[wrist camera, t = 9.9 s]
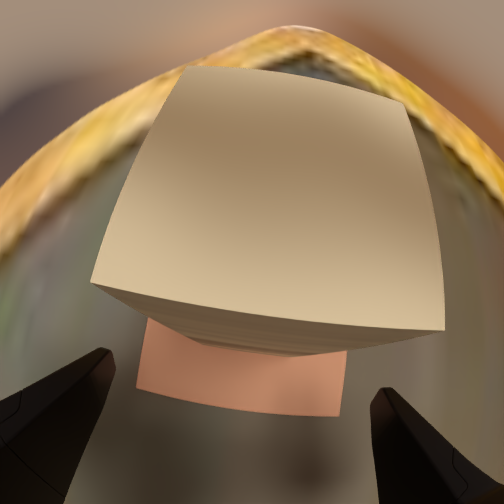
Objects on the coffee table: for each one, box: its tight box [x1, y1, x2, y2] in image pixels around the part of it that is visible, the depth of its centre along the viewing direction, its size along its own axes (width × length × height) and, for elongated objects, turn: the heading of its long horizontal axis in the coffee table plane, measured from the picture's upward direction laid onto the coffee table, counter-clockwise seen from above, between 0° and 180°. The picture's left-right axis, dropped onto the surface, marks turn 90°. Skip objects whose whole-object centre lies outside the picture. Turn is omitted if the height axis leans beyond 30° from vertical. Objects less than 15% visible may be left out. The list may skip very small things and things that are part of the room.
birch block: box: [90, 66, 445, 357], centre depth 10 cm, size 5×5×13 cm
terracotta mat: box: [136, 317, 347, 416], centre depth 16 cm, size 12×12×1 cm
